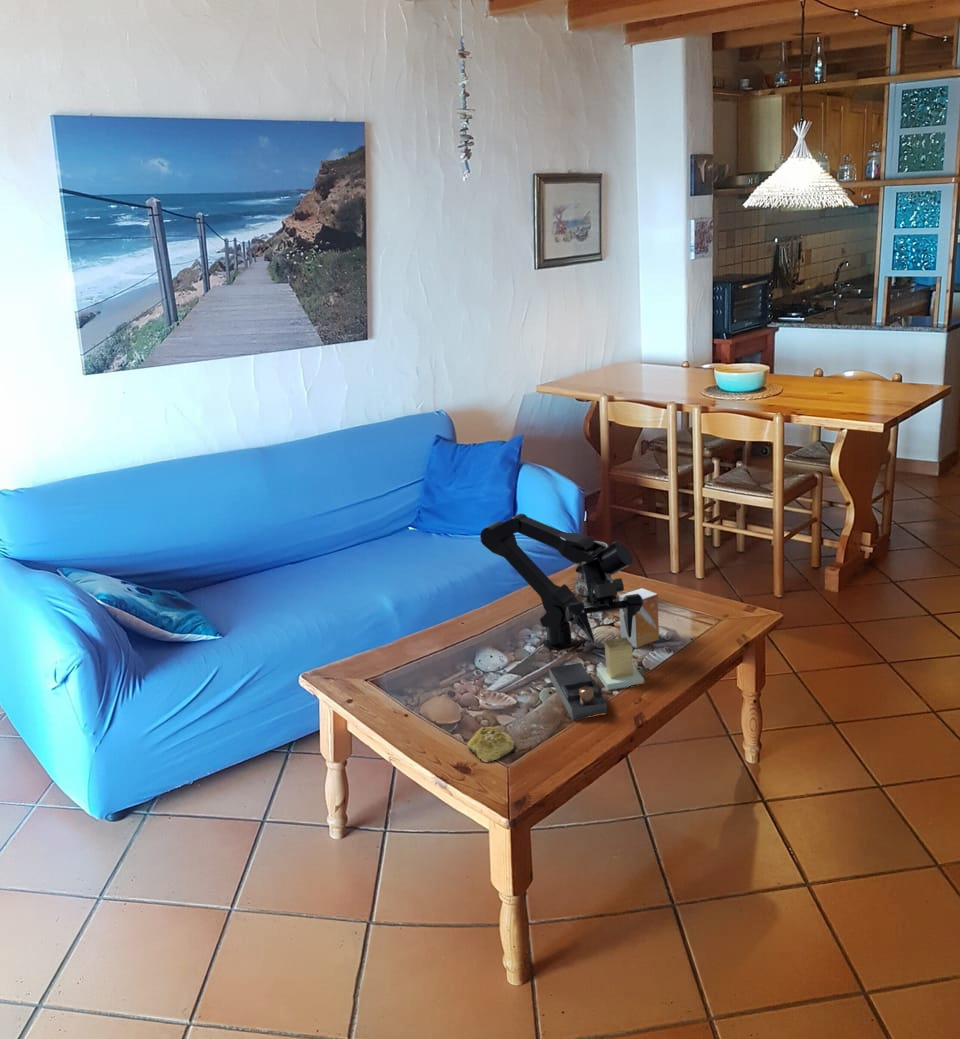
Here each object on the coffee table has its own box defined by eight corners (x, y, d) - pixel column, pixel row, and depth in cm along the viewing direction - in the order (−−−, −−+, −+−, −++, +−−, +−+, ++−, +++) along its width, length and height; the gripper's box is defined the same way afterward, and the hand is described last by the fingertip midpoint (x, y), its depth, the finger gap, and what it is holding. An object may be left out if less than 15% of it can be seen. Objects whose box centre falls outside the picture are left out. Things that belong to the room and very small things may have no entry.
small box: (636, 649, 248) (634, 601, 244) (620, 641, 253) (618, 595, 250) (660, 639, 252) (658, 593, 249) (643, 632, 257) (641, 587, 254)
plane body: (549, 678, 236) (548, 656, 234) (581, 673, 237) (580, 651, 235) (572, 720, 215) (571, 696, 213) (607, 714, 216) (605, 690, 215)
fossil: (514, 730, 201) (467, 737, 201) (518, 758, 202) (470, 765, 201) (508, 718, 212) (463, 724, 212) (512, 744, 213) (467, 751, 212)
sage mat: (596, 674, 236) (596, 668, 236) (632, 668, 237) (632, 663, 237) (607, 690, 228) (607, 684, 227) (644, 684, 229) (643, 678, 228)
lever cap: (605, 670, 234) (603, 640, 232) (627, 667, 235) (625, 637, 233) (611, 678, 230) (609, 648, 228) (633, 675, 231) (631, 644, 228)
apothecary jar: (600, 614, 272) (597, 554, 267) (566, 607, 280) (562, 548, 275) (624, 600, 280) (621, 542, 275) (591, 593, 288) (587, 536, 283)
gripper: (565, 573, 234) (578, 632, 226) (639, 563, 236) (655, 621, 229) (559, 592, 243) (572, 649, 236) (631, 582, 246) (646, 639, 238)
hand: (611, 639), depth 235 cm, fingers open, 9 cm apart
